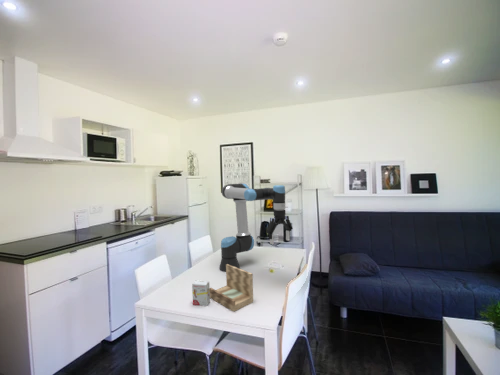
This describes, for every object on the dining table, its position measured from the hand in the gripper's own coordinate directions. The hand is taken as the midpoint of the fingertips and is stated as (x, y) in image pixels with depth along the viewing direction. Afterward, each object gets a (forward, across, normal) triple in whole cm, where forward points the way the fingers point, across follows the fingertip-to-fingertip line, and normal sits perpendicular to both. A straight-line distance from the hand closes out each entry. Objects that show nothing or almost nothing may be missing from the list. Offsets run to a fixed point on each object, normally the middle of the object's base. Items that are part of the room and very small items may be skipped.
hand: (280, 242), depth 159 cm
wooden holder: (+27, -36, +2) cm, 45 cm away
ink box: (+27, -52, +8) cm, 59 cm away
